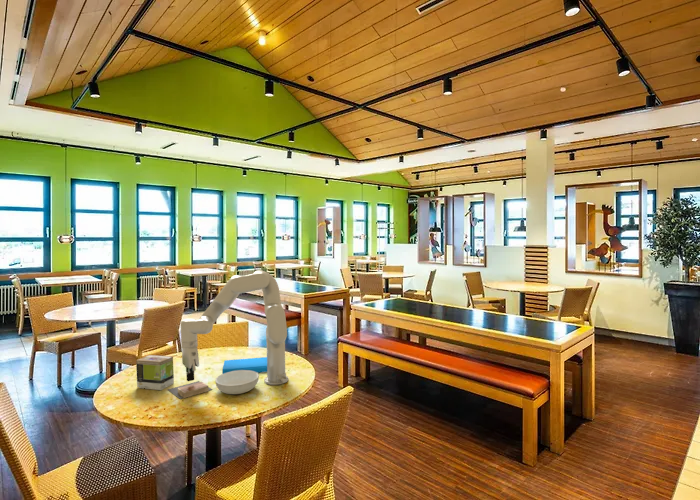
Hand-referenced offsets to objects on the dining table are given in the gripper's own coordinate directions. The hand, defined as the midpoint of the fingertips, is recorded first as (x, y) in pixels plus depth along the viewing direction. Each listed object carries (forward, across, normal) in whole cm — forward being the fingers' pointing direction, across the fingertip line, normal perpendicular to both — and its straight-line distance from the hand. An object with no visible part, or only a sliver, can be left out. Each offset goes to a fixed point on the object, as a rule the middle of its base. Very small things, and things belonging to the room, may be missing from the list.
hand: (190, 380), depth 202 cm
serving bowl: (+6, -16, -17) cm, 24 cm away
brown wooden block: (+4, 0, 0) cm, 4 cm away
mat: (+6, +1, 0) cm, 6 cm away
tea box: (+6, +20, +10) cm, 23 cm away
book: (+6, +10, -36) cm, 38 cm away
